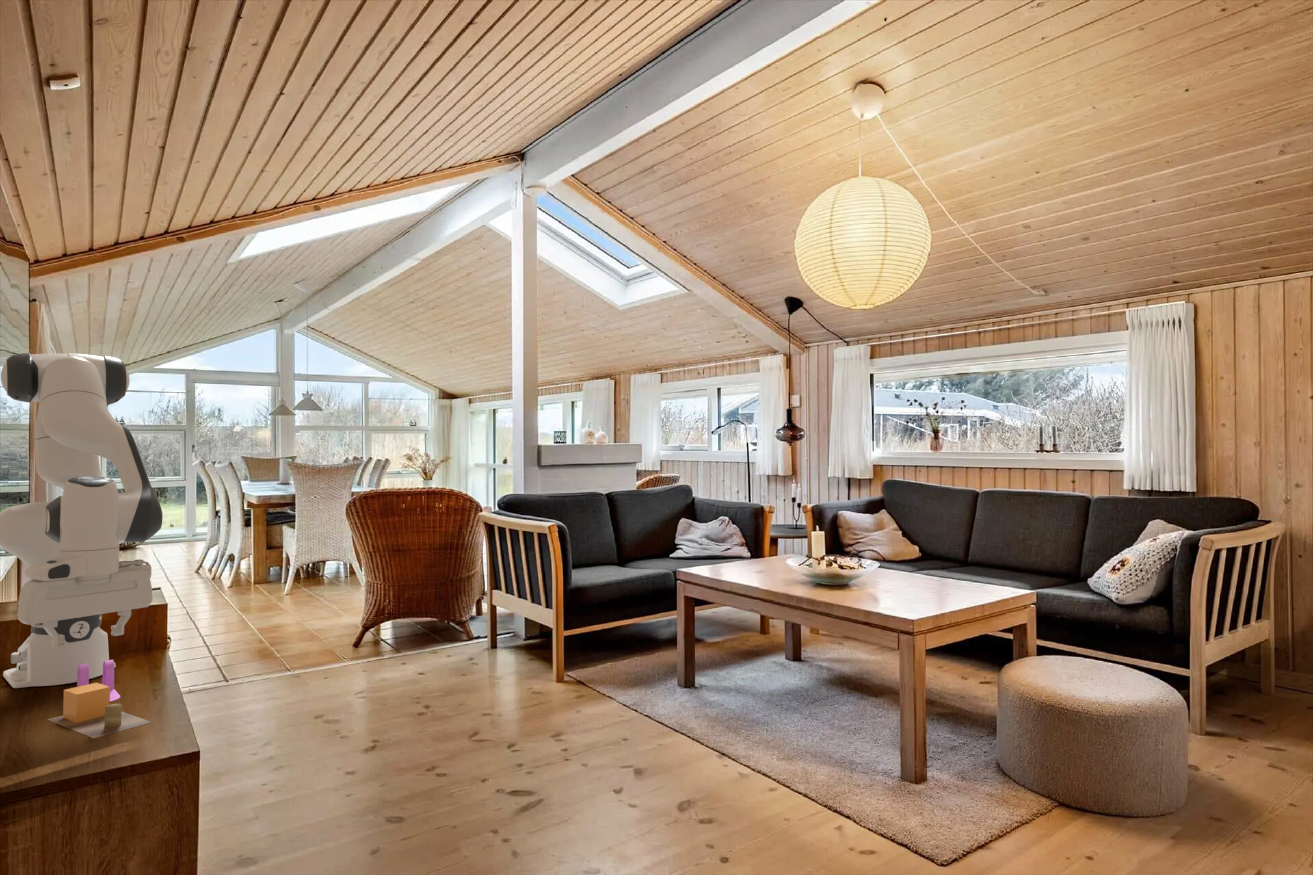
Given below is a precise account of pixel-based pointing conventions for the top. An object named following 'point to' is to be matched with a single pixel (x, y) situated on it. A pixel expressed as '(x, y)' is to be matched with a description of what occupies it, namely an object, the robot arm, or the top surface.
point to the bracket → (107, 677)
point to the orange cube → (85, 702)
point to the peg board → (103, 722)
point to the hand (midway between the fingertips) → (88, 640)
